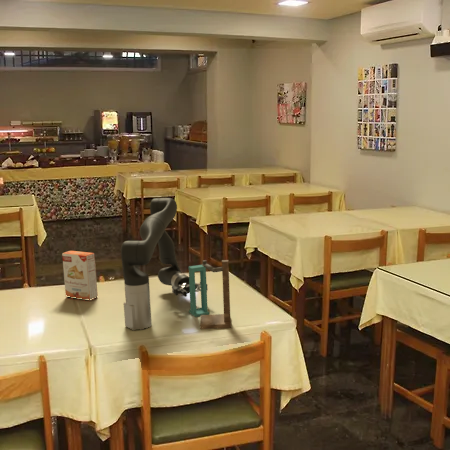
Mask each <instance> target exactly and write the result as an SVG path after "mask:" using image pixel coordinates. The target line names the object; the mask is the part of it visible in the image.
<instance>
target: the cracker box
mask: <svg viewBox="0 0 450 450" xmlns="http://www.w3.org/2000/svg"><path fill="white" fill-rule="evenodd" d="M61 256H62V257H61V258H62V267H63V280H64V289H65V290H64V291H65V292H64V293H65V296H66V295H67V296H70V297H76V298H82V299H89V300H90V299H92V298H95V297H97V296H98V284H97V283H98V281H97V270H96V258H95V257H96V256H95V253H94V252H89V251H88V252H86V251H78V250H77V251H76V250H68V251H65V252H62V254H61ZM98 297H99V296H98Z"/></svg>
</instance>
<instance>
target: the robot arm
mask: <svg viewBox="0 0 450 450" xmlns="http://www.w3.org/2000/svg"><path fill="white" fill-rule="evenodd" d="M177 210H178V204H177V201H176V200H175V199H174V198H171V197H160V198H159V197H157V198H155V197H154V198H152V199H151V201H150V203H149V212H150V215H149V216H148V217H146V218H145V219H144V220H143V222H142V224H141V226H140V227H139V235H140V238H141V240H125V241H124V242H122V244H121V247H120V257H121V265H122V276H123V282H124V295H125V302H123V311H124V313H123V315H124V326H127V327H128V328H127V327H126V328H127V329H129V328H130V330H131V329H132V331H136V330H135V329H140V330H145V329H144V328H146V329H148V327H149V328H150V327H152V311H151V310H152V309H151V294H150V293H151V290H150V277H149V274H148V273H146V272H145V271H142V270H141V269H140V270H138V269H137V268H136V267H135V266H134V265H140V266H146V265H148V264H149V263H150V262H151V259H152V258H153V255H154V251H155V250H156V248H157V245H158V250H159V252H158V253H159V259H160V263H161V264H163V265H171V266H168V267H167V266H166V267H163V268H160V269H159V271H158V272H157V278H158V280H159V282H160V283H161V284H163V285H166V286H170V287H171V292H172V293H173V294H174V295H175V296H178V295H180V296H183V297H184V298H185V297H188V295H187V294H190V288H189V275H186V274H185V273H182V270H181V268H180V266H179V264H178V260H177V256H176V247H175V243H174V241H173V239H172V238H171V237H170V235H169V234H168V232H167V231H166V229H167V227H168V226H169V224H171V222H172V221H173V219H175V217H176V215H177V212H178V211H177ZM206 285H207V286H208V283H206ZM208 289H209V288H207V291H208ZM195 291H196V293H199V292H201V283H200V282H195Z"/></svg>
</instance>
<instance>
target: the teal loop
mask: <svg viewBox="0 0 450 450" xmlns="http://www.w3.org/2000/svg"><path fill="white" fill-rule="evenodd" d="M196 272H199V277H200V280H199V284H200V283H201V288H200V289H201V291H200V300H201V301H200V302H201V304H200V305H201V307H198V308H197V294H196V293H197V292H196V291H195V290H196V289H195V283H196V274H195V273H196ZM188 277H189V288H190V293H189V304H190V306H189V307H190V309H188V312H189V314H191V315H192V316H194V317H195V318H198V317H201V315H210V311H208V290H207V289H208V284H207V268H205V267H203V266H202V264H197V265H189V266H188ZM206 284H207V285H206Z"/></svg>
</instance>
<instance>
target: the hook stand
mask: <svg viewBox="0 0 450 450" xmlns="http://www.w3.org/2000/svg"><path fill="white" fill-rule="evenodd" d="M207 261H208V260H206V259H205V260H202V264H201V265H202V266H203V267H205V268H206V270H209V272H210V271H211V272H212V273H218V272H219V273H220V272H222V276H221V277H222V300H223V301H222V302H223V303H222V304H223V313H222V314H221V313H218V314H216V313H215V314H209V315H201V316H200V319H199V320H200V323H199V329H200V330H206V329H207V330H208V329H232V320H231V300H230V298H231V297H230V294H231V293H230V275H229V274H230V267H229V259H222V260H221V266H220V267H214V266H212V265H210V264H209V263H208V262H207Z"/></svg>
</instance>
